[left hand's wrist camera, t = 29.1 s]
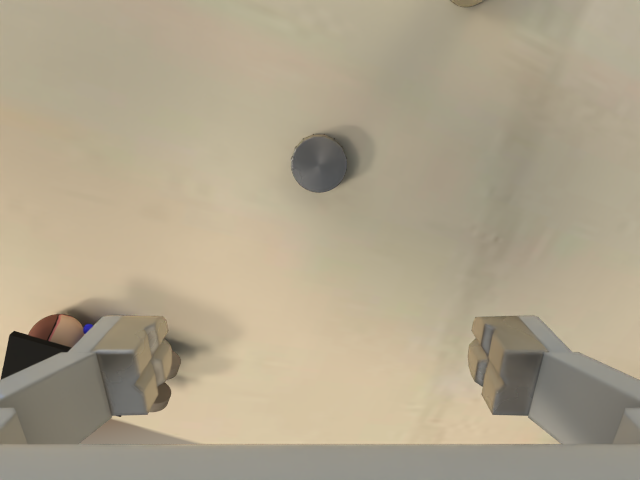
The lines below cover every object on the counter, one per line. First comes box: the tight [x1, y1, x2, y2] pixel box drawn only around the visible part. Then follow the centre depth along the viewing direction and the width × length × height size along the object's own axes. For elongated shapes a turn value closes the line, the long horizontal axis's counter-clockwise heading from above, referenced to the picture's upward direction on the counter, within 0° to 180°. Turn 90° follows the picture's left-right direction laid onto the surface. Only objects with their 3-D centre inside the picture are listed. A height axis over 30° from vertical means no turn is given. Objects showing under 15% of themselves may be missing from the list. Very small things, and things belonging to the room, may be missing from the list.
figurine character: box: [1, 314, 181, 417], centre depth 40 cm, size 7×8×15 cm
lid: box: [291, 134, 347, 192], centre depth 35 cm, size 5×5×2 cm
